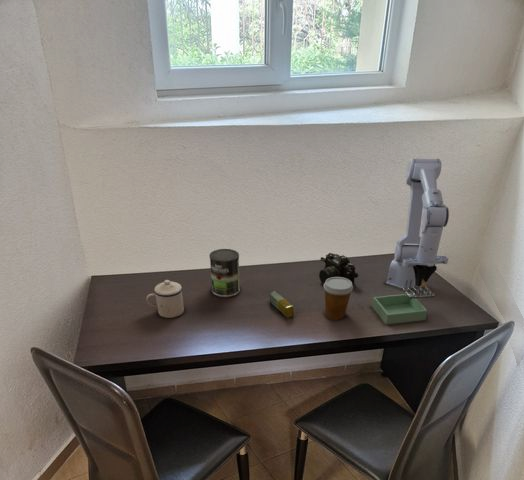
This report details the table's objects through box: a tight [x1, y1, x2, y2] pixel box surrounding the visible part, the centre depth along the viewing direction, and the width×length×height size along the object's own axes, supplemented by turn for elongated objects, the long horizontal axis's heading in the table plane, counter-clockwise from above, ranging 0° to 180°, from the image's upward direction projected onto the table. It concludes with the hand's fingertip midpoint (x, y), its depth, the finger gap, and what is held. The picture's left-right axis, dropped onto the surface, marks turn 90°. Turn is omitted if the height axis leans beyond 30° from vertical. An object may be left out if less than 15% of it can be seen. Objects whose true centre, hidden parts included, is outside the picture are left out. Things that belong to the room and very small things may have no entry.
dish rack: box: [401, 279, 436, 299], centre depth 151 cm, size 8×7×5 cm
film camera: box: [318, 252, 359, 287], centre depth 172 cm, size 18×12×10 cm
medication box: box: [269, 290, 295, 318], centre depth 157 cm, size 12×3×4 cm, turn 28°
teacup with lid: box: [146, 279, 185, 319], centre depth 153 cm, size 12×9×12 cm
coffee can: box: [209, 248, 241, 298], centre depth 165 cm, size 10×10×14 cm
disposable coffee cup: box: [322, 277, 354, 321], centre depth 152 cm, size 10×10×12 cm
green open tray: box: [371, 292, 428, 325], centre depth 155 cm, size 14×12×4 cm
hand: (420, 284), depth 151 cm, fingers closed on dish rack
